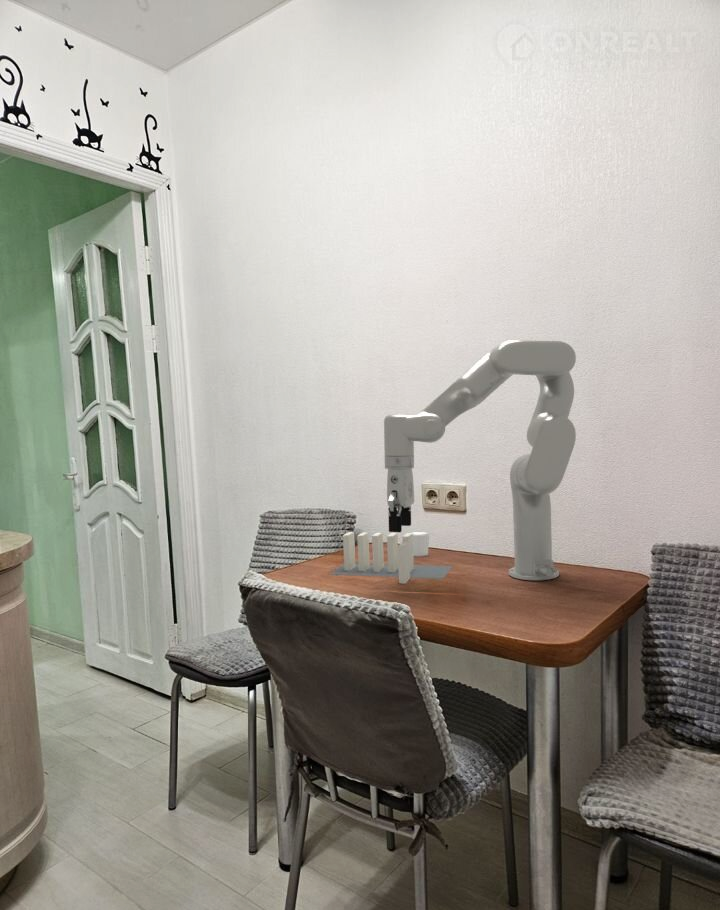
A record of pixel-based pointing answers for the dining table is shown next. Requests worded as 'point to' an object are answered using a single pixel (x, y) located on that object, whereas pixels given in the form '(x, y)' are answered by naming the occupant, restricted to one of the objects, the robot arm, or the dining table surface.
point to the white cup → (420, 543)
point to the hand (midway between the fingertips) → (400, 528)
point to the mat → (417, 572)
